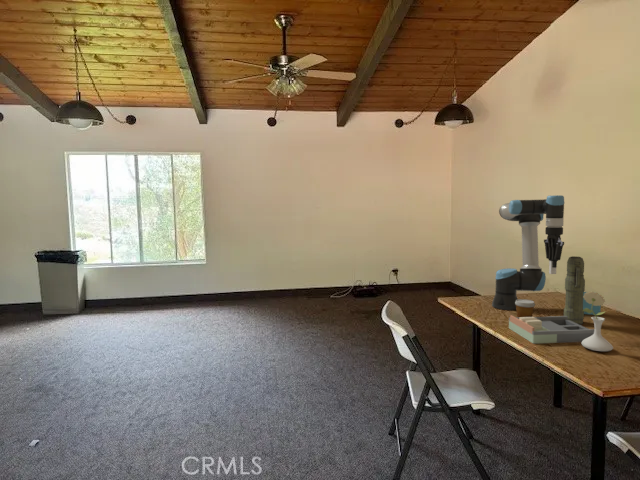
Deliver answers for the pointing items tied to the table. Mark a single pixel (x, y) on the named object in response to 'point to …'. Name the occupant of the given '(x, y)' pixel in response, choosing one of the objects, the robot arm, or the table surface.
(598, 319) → the flower in vase
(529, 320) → the birch block
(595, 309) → the data package
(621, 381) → the table surface
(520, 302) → the disposable coffee cup
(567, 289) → the thermos
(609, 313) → the table surface
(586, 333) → the box
